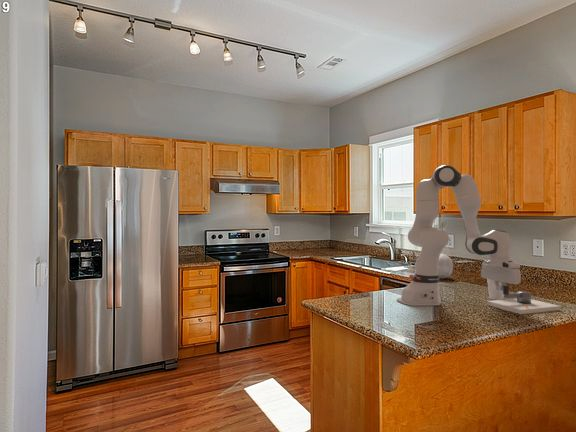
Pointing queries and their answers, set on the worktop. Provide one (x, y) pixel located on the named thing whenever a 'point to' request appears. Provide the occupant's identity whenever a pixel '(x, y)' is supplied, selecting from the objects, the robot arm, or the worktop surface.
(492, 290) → the foam cup
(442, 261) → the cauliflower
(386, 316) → the worktop surface
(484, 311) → the worktop surface
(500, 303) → the stand
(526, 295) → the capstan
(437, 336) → the worktop surface
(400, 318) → the worktop surface
